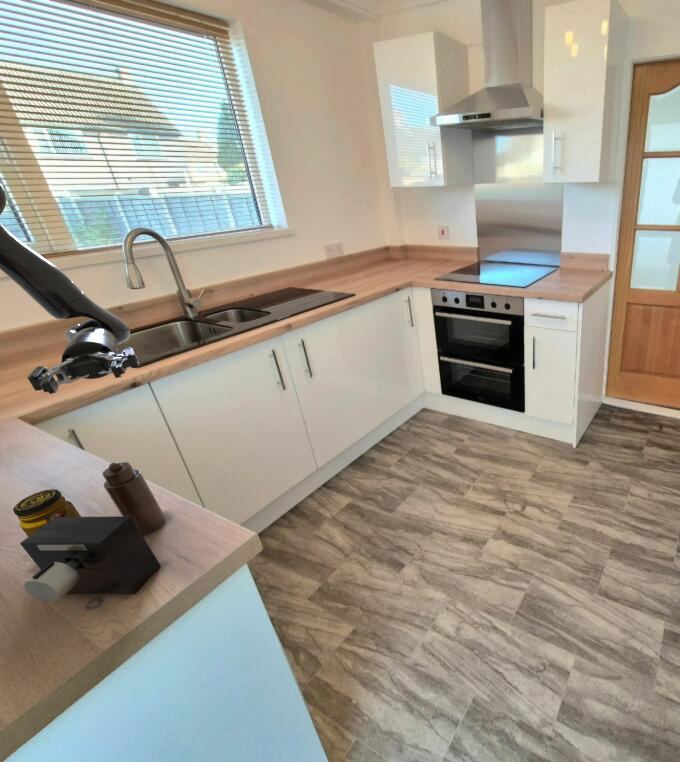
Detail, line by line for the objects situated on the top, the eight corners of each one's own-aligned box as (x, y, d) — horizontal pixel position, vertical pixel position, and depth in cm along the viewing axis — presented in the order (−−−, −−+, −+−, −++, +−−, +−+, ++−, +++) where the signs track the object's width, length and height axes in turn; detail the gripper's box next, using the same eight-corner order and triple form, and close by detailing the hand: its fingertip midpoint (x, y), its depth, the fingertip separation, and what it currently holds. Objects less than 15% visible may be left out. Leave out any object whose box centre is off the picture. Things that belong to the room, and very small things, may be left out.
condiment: (36, 570, 69) (-9, 514, 63) (86, 530, 76) (50, 477, 71) (76, 572, 68) (34, 515, 63) (123, 531, 76) (89, 478, 70)
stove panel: (135, 597, 63) (99, 543, 58) (60, 596, 64) (18, 543, 59) (162, 568, 68) (130, 516, 63) (92, 568, 69) (55, 516, 64)
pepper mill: (127, 539, 74) (86, 474, 67) (144, 519, 78) (106, 456, 72) (157, 535, 74) (119, 469, 68) (172, 515, 79) (137, 452, 72)
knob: (65, 602, 57) (46, 579, 55) (35, 602, 58) (15, 579, 56) (99, 571, 62) (82, 548, 60) (71, 571, 62) (53, 548, 60)
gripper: (31, 346, 79) (11, 372, 67) (129, 327, 86) (126, 348, 75) (53, 382, 82) (37, 414, 70) (145, 361, 90) (145, 386, 78)
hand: (83, 380), depth 73 cm, fingers open, 8 cm apart
